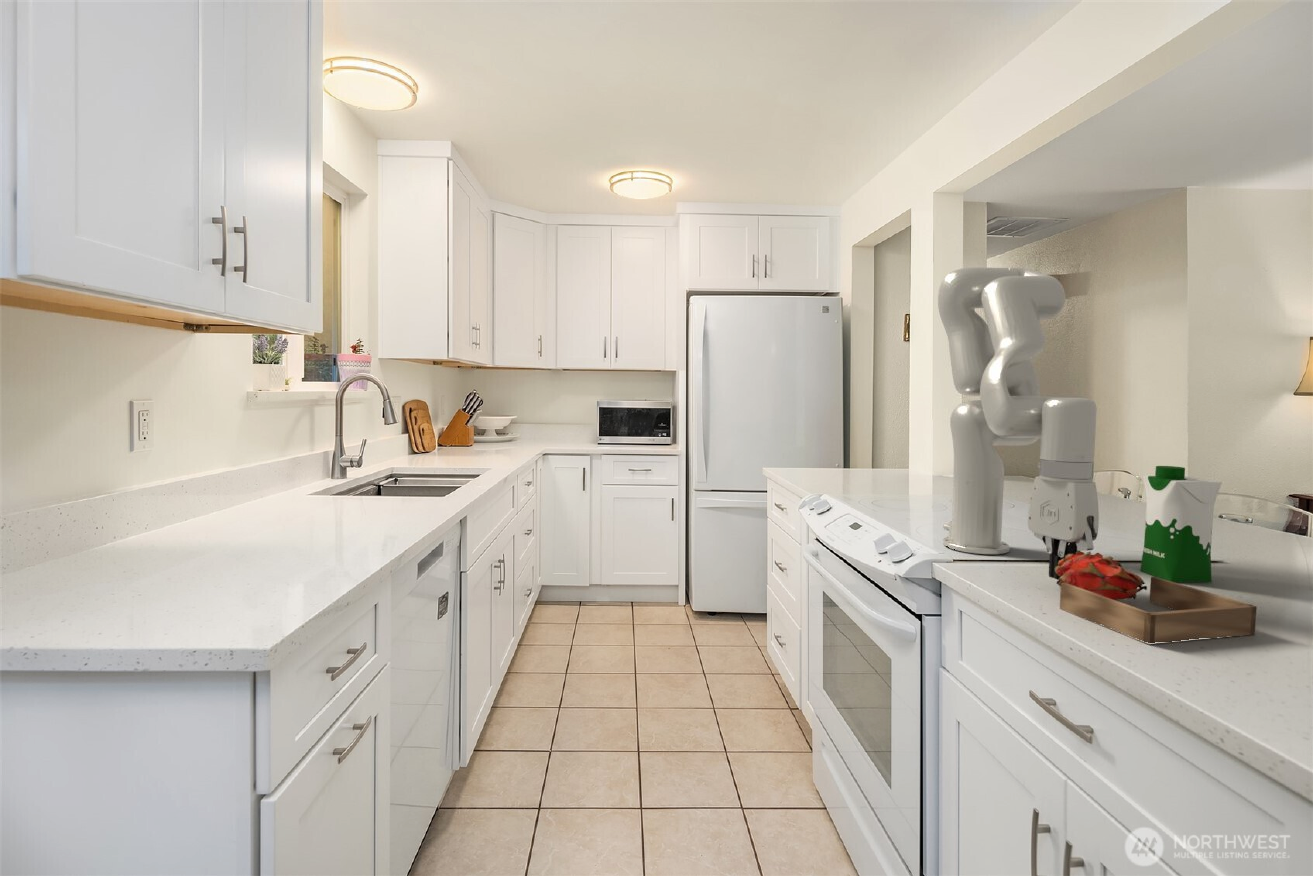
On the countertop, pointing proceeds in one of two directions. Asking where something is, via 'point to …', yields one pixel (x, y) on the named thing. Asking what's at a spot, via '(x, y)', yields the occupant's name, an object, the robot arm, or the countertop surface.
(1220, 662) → the countertop surface
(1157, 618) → the tray
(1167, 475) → the milk carton
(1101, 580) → the dragon fruit
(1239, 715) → the countertop surface
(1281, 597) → the countertop surface
